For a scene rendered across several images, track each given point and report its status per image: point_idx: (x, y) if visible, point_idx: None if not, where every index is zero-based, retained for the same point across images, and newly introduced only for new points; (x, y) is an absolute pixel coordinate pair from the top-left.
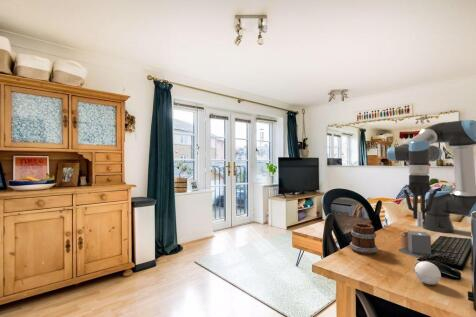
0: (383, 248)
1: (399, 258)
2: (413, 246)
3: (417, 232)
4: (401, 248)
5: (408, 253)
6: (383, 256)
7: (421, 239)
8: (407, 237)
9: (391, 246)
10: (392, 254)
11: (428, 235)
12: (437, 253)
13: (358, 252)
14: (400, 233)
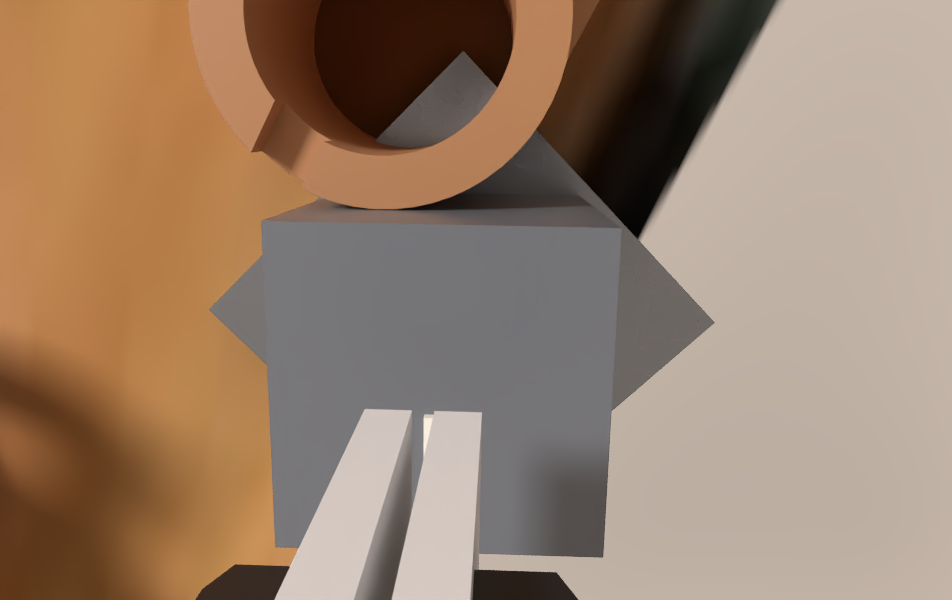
0: (29, 261)
1: (190, 572)
2: None
3: (432, 323)
4: (244, 277)
5: None
6: (22, 570)
7: None
8: (305, 175)
9: (142, 116)
10: (126, 465)
11: (582, 503)
12: (682, 321)
13: None
14: (191, 23)
